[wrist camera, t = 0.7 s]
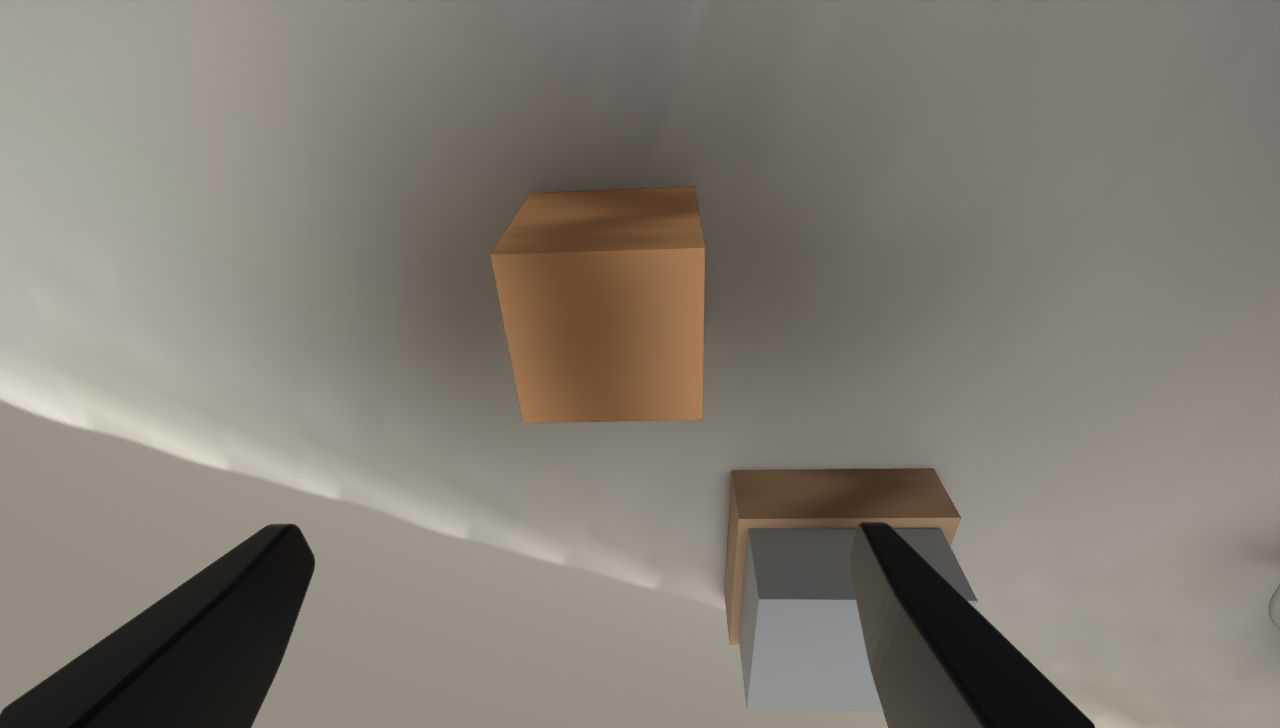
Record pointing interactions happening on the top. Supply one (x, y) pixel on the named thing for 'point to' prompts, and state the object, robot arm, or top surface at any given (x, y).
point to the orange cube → (605, 305)
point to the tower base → (827, 510)
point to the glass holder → (1275, 608)
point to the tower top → (815, 617)
